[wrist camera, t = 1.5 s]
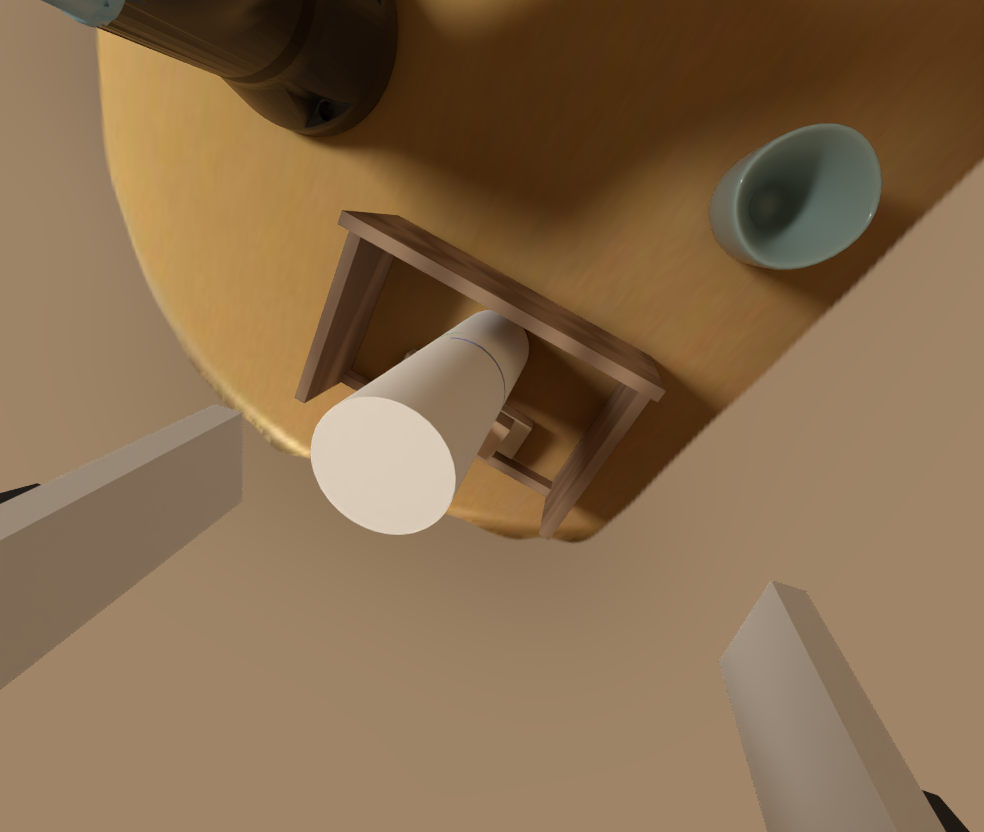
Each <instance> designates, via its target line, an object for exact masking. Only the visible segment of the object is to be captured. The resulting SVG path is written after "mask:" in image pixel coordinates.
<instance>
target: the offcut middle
mask: <svg viewBox="0 0 984 832" xmlns="http://www.w3.org/2000/svg"><path fill="white" fill-rule="evenodd" d="M514 421H515V420H514V419H512V418H511V417H509V416H508V415H506V414H505V413H503V412H501V411H500V412H499V414H498V416H497V418H496V420H495V422H494V424H493V425H492V427H491V429H490V431H489V433H488V435H487V437H486V439H485V440H484V442H483V444H482V446H481V448H480V450H479V452H478V453H477V455H479V456H480V457H482V458H483V459H485V460H486V461H488V462H489V460H490V459H491V457H492V456H493V455H494V453H495V452H496V450H497V449H498V447H499V446H500V444H501V443H502V441H503V440H504V439H505V437H506V436H507V434H508V433H509V431H510V430H511V427H512V425H513V423H514Z"/></svg>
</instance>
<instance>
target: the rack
mask: <svg viewBox="0 0 984 832" xmlns="http://www.w3.org/2000/svg"><path fill="white" fill-rule="evenodd" d="M338 225H340V226H342V227H344V228H346V229H347V230H349V233H348V236H347V239H346V242H345V245H344V248H343V251H342V254H341V257H340V260H339V263H338V266H337V270H336V273H335V276H334V279H333V282H332V285H331V288H330V291H329V294H328V297H327V300H326V303H325V306H324V309H323V312H322V315H321V318H320V321H319V325H318V328H317V331H316V334H315V337H314V340H313V343H312V346H311V349H310V352H309V355H308V358H307V361H306V364H305V367H304V370H303V373H302V376H301V380H300V383H299V386H298V389H297V392H296V395H295V398H296V399H298V400H299V401H301V402H303V403H306V402H307V401H309V400H311V399H312V398H314V397H316V396H318V395H319V394H321V393H323V392H324V391H326V390H328V389H330V388H331V387H333V386H335V385H337V384H338V383H340V382H342V383H344V384H345V385H347V386H349V387H351V388H353V389H354V390H356V391H358V390H360V389H361V388H363V387H364V386H366V385H367V384H369V383H370V382H372V381H370V380H368V379H367V378H365V377H363V376H361V375H359V374H358V373H356V372H354V371H352V370H351V369H352V366H353V363H354V361H355V358H356V356H357V353H358V350H359V348H360V345H361V342H362V340H363V337H364V334H365V332H366V329H367V326H368V324H369V321H370V318H371V316H372V313H373V311H374V308H375V305H376V303H377V300H378V297H379V295H380V292H381V289H382V287H383V284H384V281H385V279H386V276H387V274H388V271H389V268H390V266H391V263H392V260H393V258H394V256H396V257H398V258H399V259H401V260H403V261H405V262H406V263H408V264H410V265H412V266H414V267H415V268H417V269H419V270H421V271H423V272H424V273H426V274H428V275H430V276H432V277H433V278H435V279H437V280H439V281H441V282H442V283H444V284H446V285H448V286H449V287H451V288H453V289H455V290H457V291H458V292H460V293H462V294H464V295H466V296H467V297H469V298H471V299H473V300H475V301H476V302H478V303H480V304H482V305H484V306H485V307H487V308H489V309H491V310H493V311H494V312H496V313H498V314H500V315H501V316H503V317H505V318H507V319H509V320H510V321H512V322H514V323H516V324H518V325H519V326H521V327H523V328H525V329H527V330H528V331H530V332H532V333H534V334H536V335H537V336H539V337H541V338H543V339H544V340H546V341H548V342H550V343H552V344H553V345H555V346H557V347H559V348H561V349H562V350H564V351H566V352H568V353H570V354H571V355H573V356H575V357H577V358H579V359H580V360H582V361H584V362H586V363H587V364H589V365H591V366H593V367H595V368H596V369H598V370H600V371H602V372H604V373H605V374H607V375H609V376H611V377H613V378H614V379H616V380H618V381H620V383H619V384H618V386H617V387H616V389H615V390H614V392H613V393H612V395H611V396H610V398H609V399H608V400H607V402H606V403H605V405H604V406H603V408H602V409H601V411H600V412H599V414H598V415H597V417H596V418H595V420H594V421H593V423H592V424H591V426H590V427H589V429H588V430H587V432H586V433H585V435H584V436H583V438H582V439H581V440H580V442H579V443H578V445H577V446H576V448H575V449H574V451H573V452H572V454H571V455H570V457H569V458H568V460H567V461H566V463H565V464H564V466H563V467H562V469H561V470H560V472H559V473H558V475H557V476H556V477H555V479H554V480H553V482H551V481H549V480H547V479H545V478H544V477H542V476H540V475H538V474H536V473H535V472H533V471H531V470H529V469H527V468H526V467H524V466H522V465H520V464H519V463H517V462H515V461H513V460H511V459H510V458H508V457H506V456H504V455H502V454H501V453H499V452H497V451H496V452H495V453H494V455H493V456H492V457H491V459H490V460H489V462H488V461H486V460H485V459H483V458H482V457H480V456H479V455H476V458H478V459H479V460H481V461H483V462H485V463H487V464H488V465H490V466H492V467H494V468H496V469H497V470H499V471H501V472H503V473H504V474H506V475H508V476H510V477H512V478H513V479H515V480H517V481H519V482H521V483H522V484H524V485H526V486H528V487H530V488H531V489H533V490H535V491H537V492H538V493H540V494H542V495H544V496H546V500H545V505H544V510H543V516H542V521H541V526H540V532H539V535H540V536H542V537H544V538H546V539H548V540H549V539H550V538H551V536H552V535H553V533H554V532H555V531H556V529H557V528H558V527H559V525H560V524H561V522H562V521H563V520H564V518H565V517H566V515H567V514H568V513H569V511H570V510H571V509H572V507H573V506H574V504H575V503H576V502H577V500H578V499H579V497H580V496H581V495H582V493H583V492H584V491H585V489H586V488H587V486H588V485H589V484H590V482H591V481H592V479H593V478H594V477H595V475H596V474H597V473H598V471H599V470H600V468H601V467H602V466H603V464H604V463H605V461H606V460H607V459H608V457H609V456H610V455H611V453H612V452H613V450H614V449H615V448H616V446H617V445H618V443H619V442H620V441H621V439H622V438H623V437H624V435H625V434H626V432H627V431H628V430H629V428H630V427H631V425H632V424H633V423H634V421H635V420H636V419H637V417H638V416H639V414H640V413H641V412H642V410H643V409H644V407H645V406H646V405H647V403H648V402H649V401H650V399H652V400H654V401H656V402H657V403H658V401H659V400H660V399H661V397H662V396H663V395H664V393H665V392H666V390H665V388H664V385H663V383H662V381H661V379H660V376H659V374H658V372H657V370H656V367H655V365H654V363H653V361H652V358H651V356H649V355H647V354H645V353H644V352H642V351H640V350H638V349H636V348H635V347H633V346H631V345H629V344H627V343H626V342H624V341H622V340H620V339H618V338H617V337H615V336H613V335H611V334H609V333H608V332H606V331H604V330H602V329H601V328H599V327H597V326H595V325H593V324H592V323H590V322H588V321H586V320H584V319H583V318H581V317H579V316H577V315H575V314H574V313H572V312H570V311H568V310H566V309H565V308H563V307H561V306H559V305H557V304H556V303H554V302H552V301H550V300H549V299H547V298H545V297H543V296H541V295H540V294H538V293H536V292H534V291H532V290H531V289H529V288H527V287H525V286H523V285H522V284H520V283H518V282H516V281H514V280H513V279H511V278H509V277H507V276H505V275H504V274H502V273H500V272H498V271H497V270H495V269H493V268H491V267H489V266H488V265H486V264H484V263H482V262H480V261H479V260H477V259H475V258H473V257H471V256H470V255H468V254H466V253H464V252H462V251H461V250H459V249H457V248H455V247H453V246H452V245H450V244H448V243H446V242H445V241H443V240H441V239H439V238H437V237H436V236H434V235H432V234H430V233H428V232H427V231H425V230H423V229H421V228H419V227H418V226H416V225H414V224H412V223H410V222H409V221H407V220H405V219H403V218H401V217H400V216H398V215H388V214H377V213H366V212H355V211H345V210H342V212H341V215H340V218H339V221H338Z"/></svg>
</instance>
